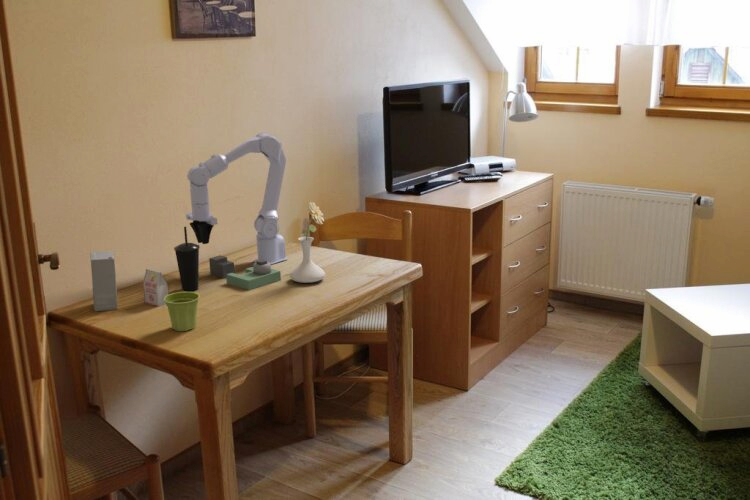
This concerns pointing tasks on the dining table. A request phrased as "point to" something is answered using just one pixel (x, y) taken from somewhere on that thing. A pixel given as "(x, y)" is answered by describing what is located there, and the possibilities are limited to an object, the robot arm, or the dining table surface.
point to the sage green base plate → (255, 276)
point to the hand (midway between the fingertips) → (203, 243)
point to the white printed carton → (154, 288)
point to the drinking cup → (188, 264)
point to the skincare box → (104, 280)
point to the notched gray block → (220, 266)
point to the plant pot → (182, 310)
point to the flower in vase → (307, 268)
